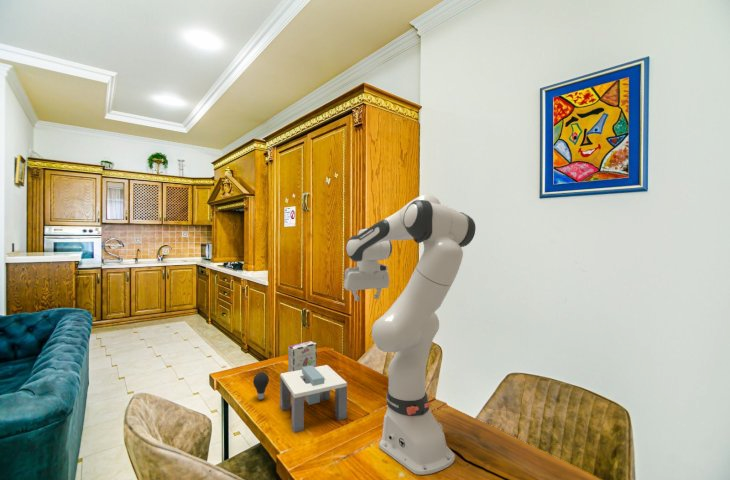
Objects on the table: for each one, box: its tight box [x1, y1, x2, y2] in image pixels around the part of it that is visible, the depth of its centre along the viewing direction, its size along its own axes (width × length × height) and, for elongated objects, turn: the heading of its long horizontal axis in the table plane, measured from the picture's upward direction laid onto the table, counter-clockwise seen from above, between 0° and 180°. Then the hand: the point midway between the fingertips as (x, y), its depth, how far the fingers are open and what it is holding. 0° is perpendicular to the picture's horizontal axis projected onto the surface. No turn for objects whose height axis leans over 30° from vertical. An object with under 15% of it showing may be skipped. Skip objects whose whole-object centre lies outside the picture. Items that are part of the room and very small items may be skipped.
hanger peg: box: [302, 365, 324, 406], centre depth 114 cm, size 12×4×10 cm, turn 28°
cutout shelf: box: [279, 364, 348, 434], centre depth 114 cm, size 18×18×12 cm
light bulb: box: [252, 371, 270, 401], centre depth 123 cm, size 6×6×10 cm
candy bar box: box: [287, 340, 318, 382], centre depth 137 cm, size 11×5×16 cm, turn 131°
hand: (366, 299), depth 138 cm, fingers open, 8 cm apart
